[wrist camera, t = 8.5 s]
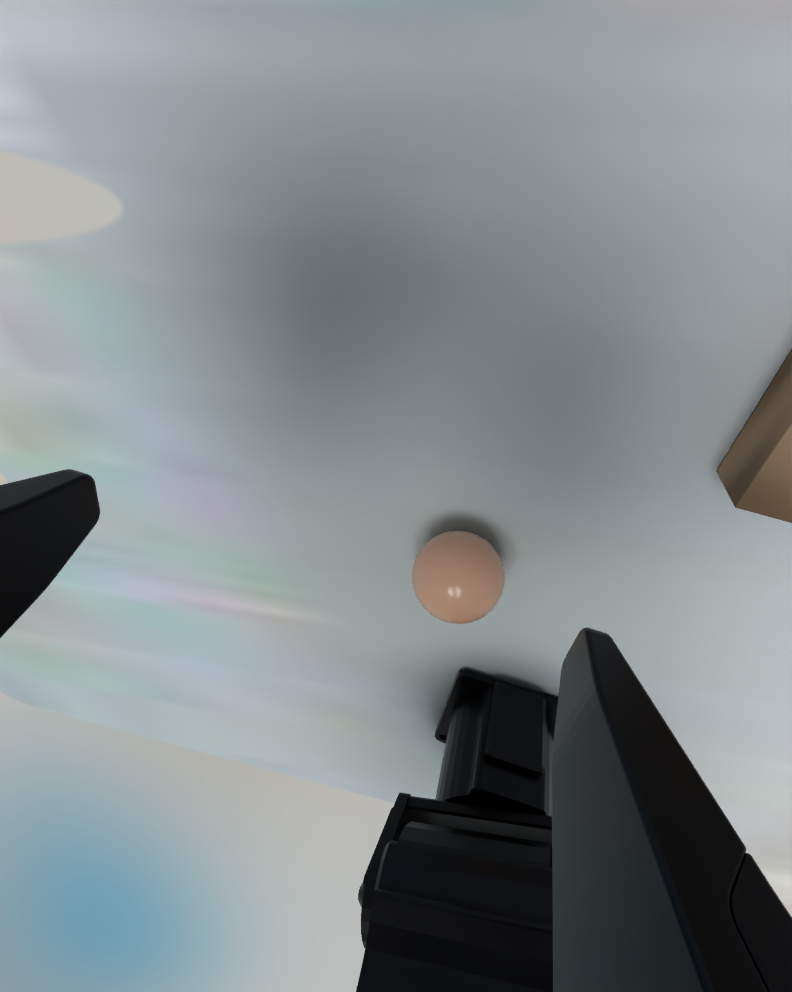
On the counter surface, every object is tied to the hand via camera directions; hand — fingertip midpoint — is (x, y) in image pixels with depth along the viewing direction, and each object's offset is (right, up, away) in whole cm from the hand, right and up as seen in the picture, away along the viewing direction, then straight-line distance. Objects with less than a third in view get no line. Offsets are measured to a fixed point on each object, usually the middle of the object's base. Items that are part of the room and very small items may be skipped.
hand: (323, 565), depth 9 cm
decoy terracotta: (+4, -2, +14) cm, 15 cm away
